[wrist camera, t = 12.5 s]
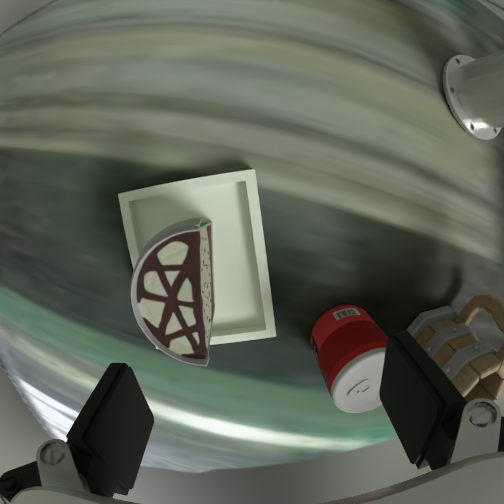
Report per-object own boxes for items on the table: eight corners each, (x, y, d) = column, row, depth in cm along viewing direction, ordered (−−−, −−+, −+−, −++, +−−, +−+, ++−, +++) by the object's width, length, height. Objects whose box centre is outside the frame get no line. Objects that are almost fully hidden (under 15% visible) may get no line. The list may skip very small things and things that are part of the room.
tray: (253, 169, 29) (254, 169, 27) (274, 327, 34) (276, 336, 32) (125, 192, 29) (118, 193, 27) (160, 340, 34) (156, 348, 32)
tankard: (416, 389, 38) (459, 450, 24) (375, 360, 36) (423, 435, 21) (493, 296, 35) (554, 335, 20) (465, 249, 32) (543, 285, 18)
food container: (153, 208, 29) (115, 224, 19) (212, 206, 29) (197, 221, 20) (163, 316, 32) (137, 367, 23) (215, 317, 32) (207, 371, 23)
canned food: (296, 337, 34) (315, 397, 24) (342, 289, 33) (381, 336, 22) (336, 365, 36) (363, 422, 25) (379, 322, 34) (420, 370, 24)
